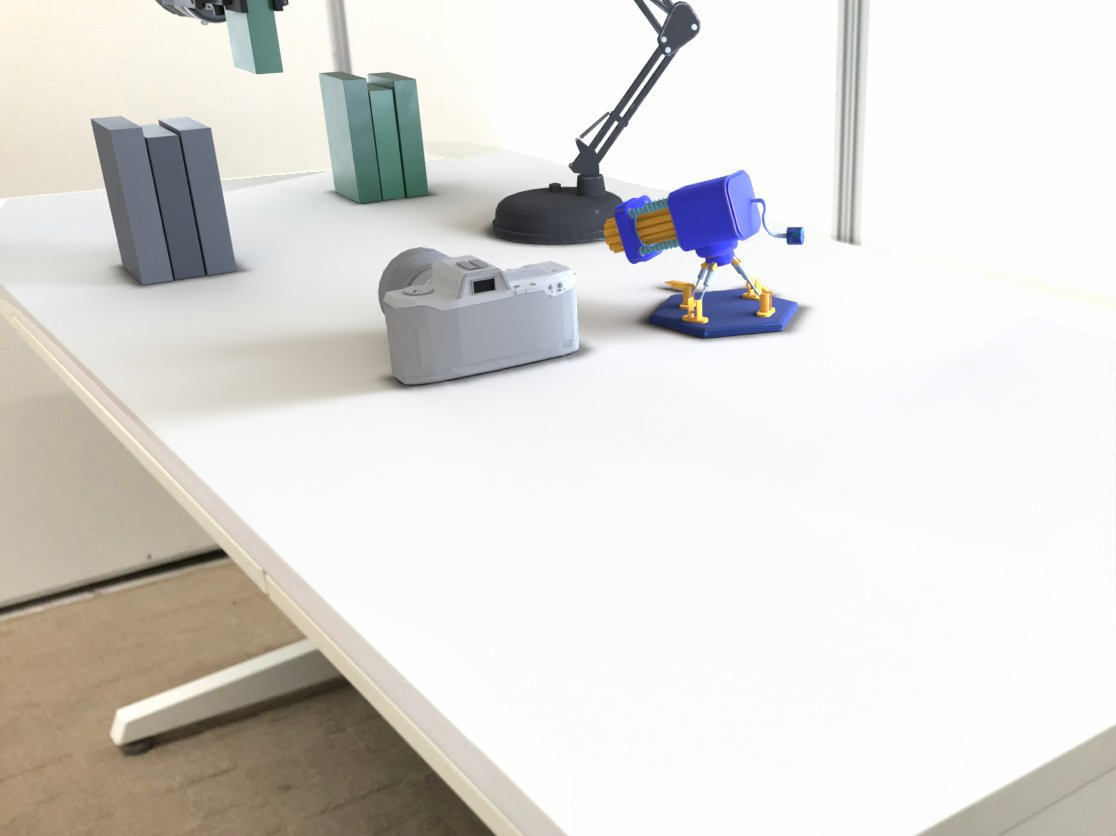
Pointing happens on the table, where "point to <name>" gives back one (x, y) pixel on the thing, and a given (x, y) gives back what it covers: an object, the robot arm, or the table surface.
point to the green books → (374, 135)
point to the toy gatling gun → (704, 254)
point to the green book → (255, 38)
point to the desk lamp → (592, 156)
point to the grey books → (165, 198)
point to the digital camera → (473, 315)
